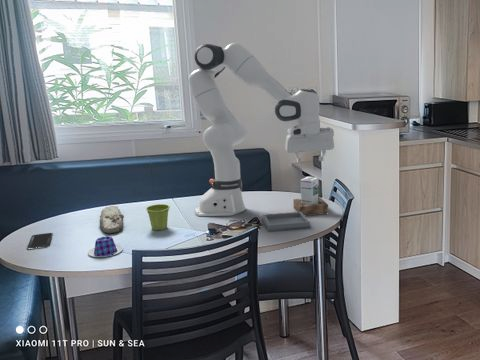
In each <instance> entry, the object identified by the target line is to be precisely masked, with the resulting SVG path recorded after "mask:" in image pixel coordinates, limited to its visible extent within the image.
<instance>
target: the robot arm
mask: <svg viewBox="0 0 480 360" xmlns="http://www.w3.org/2000/svg"><path fill="white" fill-rule="evenodd" d="M194 61H195V64H196V65H197V69H195V70H194V71H192V72H191V73H190V74H189V76H188V83H189V87H190V90H191V93H192V95H193V98H194V100H195V102H196V105H197V107H198V110H199V111H200V113H201V116H202V117H203V118H205V119H206V120H208V121H209V122H210V124H211V126H209V127H208V128H206V129H205V130H204V132H203V134H202V142H203V144H204V146H205V147H206V148H207V149H208V150H209V151H210V154H211V156H212V161H213V165H214V178H210V179H209V184H210V187H211V188H210V189H208V190H207V191H206V192H205V193H204V194H202V195H201V196H200V199H199V203H198V206H196V207H195V209H194V214H195V215H196V216H198V217H223V216H224V217H227V216H229V217H230V216H235V215H236V214H239V213H242V212H244V211H245V210H246V206H245V203H244V200H243V199H244V198H243V193H242V191H243V182H242V177H241V163H240V160H239V158H238V157H236V154H235V151H234V146H237V145H239V144H241V143H242V142H243V141H244V140H245V139H246V137H247V133H248V132H247V131H248V130H247V127H246V125H245V124H244V123H243V122H241V121H240V120H239V119H238V118H237V117H236V116H235V115H234V114H233V112H232V111H231V109H229V107H228V105H227V104H226V102H225V100H224V98H223V96H222V94H221V92H220V89H219V87H218V86H217V83H216V81H215V78H217V77H218V76H219V75H220V74H221V73H222V72H223V71H224V70H225V69H226V68H227V69H228V70H229V71H231V72H232V73H233V74H234V75H235V76H236V78H238V79H239V80H240V81H242V82H243V83H244V84H245V85H247V86H250V87H254V88H258V89H261V90H262V91H265V92H266V93H267V94H268V95H269V96H270V97H272V99H274V100H275V101H276V102H277V103H276V104H275V107H274V114H275V115H276V117H277V119H278V120H280V121H282V122H285V123H286V122H292V121H295V120H297V121H298V124H296V125H294V126H291V127H289V128H288V129H287V135H286V138H285V147H284V148H285V151H286V152H287V153H288V154H289V153H290V154H291V153H292V154H293V155H294V156H295V158H296V162H297V163H296V164H300V163H301V164H302V158H301V157H299V153H304V152H321V154H320V156H318V160H319V162H323V161H324V157H325V156H326V154H327V151H330V150H333V149H334V148H335V142H334V141H335V140H334V136H335V131H334V129H333V128H331V127H329V126H328V127H321V119H320V110H321V109H320V99H319V98H320V97H319V94H318V92H317V91H315V90H313V89H307V88H301V89H299V90H298V91H297V92H295V93H294V94H292V93H290V92H289V91H288V90H287V89H286V88H284V86H283V85H282V84H280V82H278V81H277V80H276V79H275V78H274V77H273V76H272V75H271V73H269V72H268V71H267V69H266V68H265V67H264V65H263V64H262V63H261V62H260V61H259V59H257V57H255V55H254V54H253V53H252V52H250V50H248V49H247V48H245V47H244V46H243V45H242V44H240V43H238V42H231V43H229V44H228V45H227V46H226V47H225V48H223V47H222V46H219V45H215V44H212V43H204V44H201V45H199V46H198V47H197V48H196V50H195V53H194Z"/></svg>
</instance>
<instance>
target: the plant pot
mask: <svg viewBox="0 0 480 360" xmlns="http://www.w3.org/2000/svg"><path fill="white" fill-rule="evenodd" d="M170 207H171V206H170V205H168V204H165V203H164V204H163V203H160V204H157V203H156V204H152V205H149V206H147V207H145V210H146V211H147V214H148V217H149V223H150V226H151V229H152V230H154V231H159V230H160V231H163V230H166V229H167V228H168V218H169V211H170Z"/></svg>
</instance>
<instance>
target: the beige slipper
mask: <svg viewBox="0 0 480 360" xmlns="http://www.w3.org/2000/svg"><path fill="white" fill-rule="evenodd" d="M118 207H119V206H118V205H117V206H116V205H112V206H111V205H110V206H106V207H104V208H103V209H101V212H100V215H99V225H100V227H101V228H102V230H103V232H104V233H106V234H114V233H117V232H118V233H119V232H120V231H121V230H122V229H123V227H124V218H125V216H124V214H122V213H121V209H120V208H118Z"/></svg>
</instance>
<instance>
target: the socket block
mask: <svg viewBox="0 0 480 360" xmlns="http://www.w3.org/2000/svg"><path fill="white" fill-rule="evenodd" d="M293 209H294V211H295V212H296V211H297V212H302V213H303V215H307V216H314V215H313V214H319V215H328V214H329V204H328V203H327V202H326V201H325V200H324V199H323V198H322V197H320V196H319V204H312V205H303V204H302V203H301V198H294V199H293ZM327 213H328V214H327Z"/></svg>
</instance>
